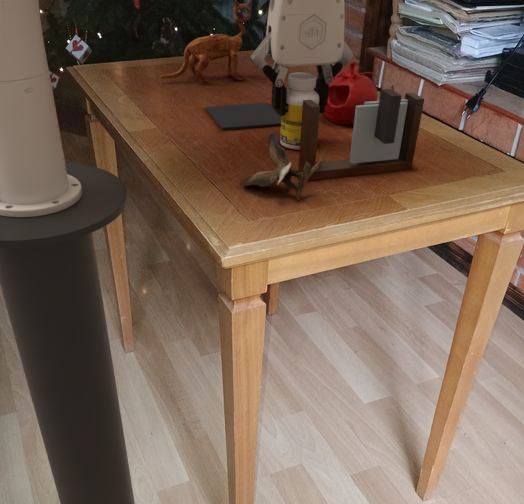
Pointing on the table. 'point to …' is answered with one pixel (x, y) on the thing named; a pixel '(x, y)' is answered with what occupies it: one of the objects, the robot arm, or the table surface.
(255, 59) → the robot arm
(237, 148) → the table surface
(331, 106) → the pomegranate
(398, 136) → the sliding panel with handle
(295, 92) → the supplement bottle
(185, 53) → the cat figurine
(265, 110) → the rubber mat
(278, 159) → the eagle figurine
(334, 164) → the dark brown u-shaped frame
